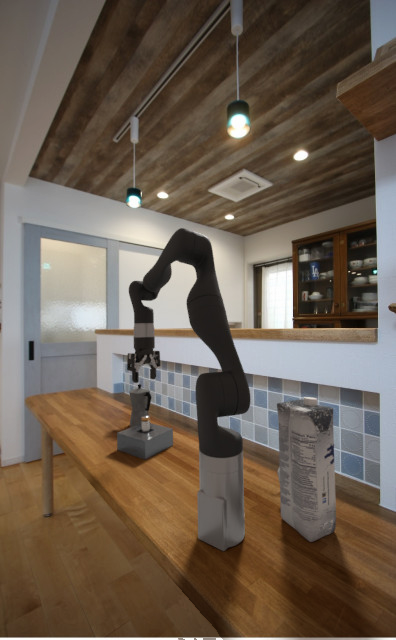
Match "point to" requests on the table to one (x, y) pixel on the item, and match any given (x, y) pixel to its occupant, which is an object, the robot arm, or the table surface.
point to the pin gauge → (145, 424)
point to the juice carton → (307, 467)
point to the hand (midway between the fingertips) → (144, 380)
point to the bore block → (144, 440)
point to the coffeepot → (139, 404)
